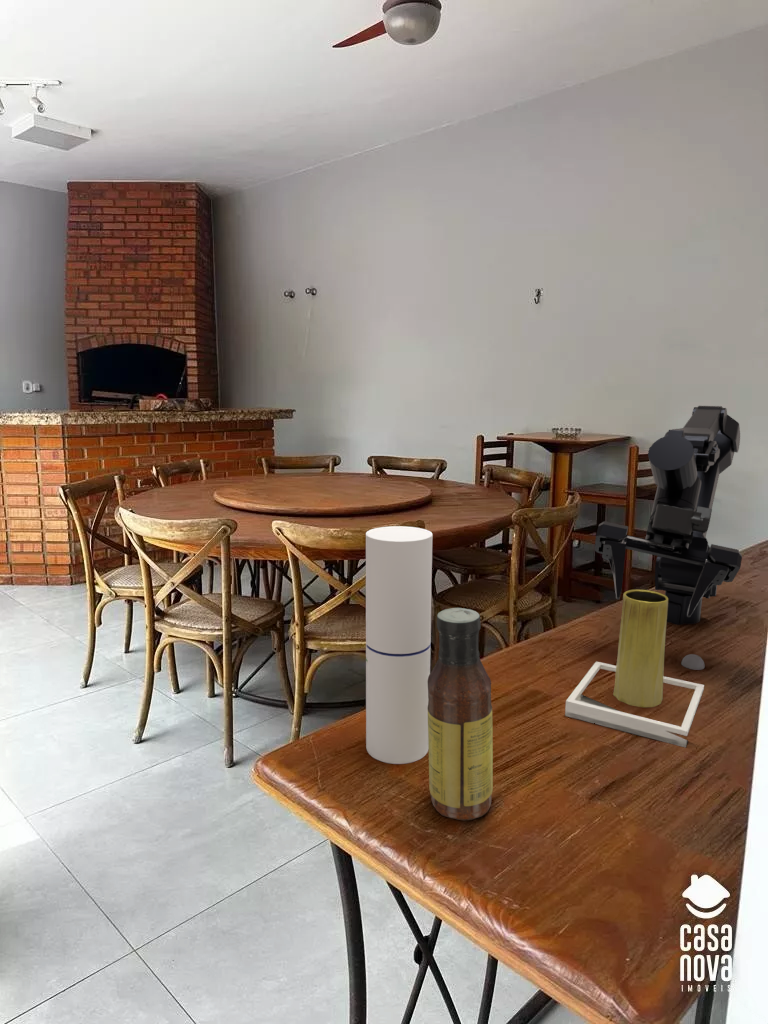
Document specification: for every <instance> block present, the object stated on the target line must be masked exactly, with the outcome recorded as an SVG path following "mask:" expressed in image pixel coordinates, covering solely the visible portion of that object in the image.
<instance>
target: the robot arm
mask: <svg viewBox="0 0 768 1024" xmlns="http://www.w3.org/2000/svg"><path fill="white" fill-rule="evenodd" d="M740 428H741V427H740V423H739V422H738V421H737V420H736V419H734V418H732V416H730V415H729V414H728V409H727V408H726V407H723V406H721V405H697V406H695V407H693V410H692V413H691V416H690V418H688V420H687V422H686V423H685V424H684V425H683V427H680V428H672V429H668V430H667V432H666V433H665V434H664V436H663V437H661V438H659V439H657V440H655V441H654V443H652V444H651V446H650V447H648V450H647V451H648V453H647V456H648V460H649V466H650V469H651V472H652V477H653V481H654V484H655V485H656V492H655V496H654V501H653V504H652V509H651V512H650V516H649V521H648V525H647V528H646V534H645V535H646V536H645V538H642V537H638V536H634V535H633V536H632V535H628V529H629V526H627V525H623V524H618V523H614V522H609V521H602V522H601V523H599V524H598V527H597V531H596V535H595V541H594V551H595V552H596V553H597V554H601V557H602V559H603V560H606V561H608V562H609V566H610V569H611V572H612V576H613V582H614V583H613V584H614V591H615V599H616V600H620V597H621V594H622V589H623V580H624V569H625V558H626V557H625V556H626V550H629V551H630V550H631V551H634V552H640V553H644V554H649V555H653V556H655V557H656V556H657V557H656V560H655V565H654V566H655V567H654V569H655V570H654V590H656V591H663V592H664V591H665V592H664V595H665V596H667V597H668V611H667V623H670V624H672V625H677V626H678V625H694V624H695V625H696V624H697V623H700V622H701V616H702V614H701V613H702V603H703V598H705V599H708V600H709V599H710V598H711V597H712V598H713V597H716V596H717V589H718V586H721V585H722V584H723V582H725V583H732V582H733V581H734V579H735V578H736V576H737V574H738V573H739V571H740V569H741V565H742V560H743V555H742V553H741V552H740V550H739V549H736V548H732V547H727V546H722V545H718V544H713V543H711V544H710V545H709V541H708V539H707V538H706V537H707V532H708V530H709V527H710V522H711V518H712V517H711V516H712V512H713V507H714V506H713V505H714V500H715V496H716V491H717V486H718V484H719V483H718V482H719V477H720V474H722V473H723V472H724V471H725V470H726V469H728V468H729V467H730V466H732V464H733V460H734V454H735V453H739V450H740V444H741V430H740Z"/></svg>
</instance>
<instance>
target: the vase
mask: <svg viewBox="0 0 768 1024" xmlns="http://www.w3.org/2000/svg"><path fill="white" fill-rule="evenodd" d="M622 594H623V595H622V607H621V618H620V628H619V637H618V644H617V645H618V647H617V648H618V649H617V659H616V665H615V666H616V672H615V674H614V675H615V676H614V678H615V679H614V688H613V694H612V695H613V696H614V697H615V699H617V701H619V702H622V703H624V704H627V705H629V706H634V707H638V708H655V707H657V706H658V705H661V704H662V701H663V699H664V697H663V694H664V693H663V692H664V691H663V689H664V683H663V676H664V672H665V671H664V669H665V648H666V632H667V623H668V622H667V611H668V597H667V596H665V593H664V594H663V593H661V592H658V591H654V590H649V589H629V590H627V591H625V592H623V593H622Z"/></svg>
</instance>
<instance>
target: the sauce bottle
mask: <svg viewBox="0 0 768 1024" xmlns="http://www.w3.org/2000/svg"><path fill="white" fill-rule="evenodd" d="M481 627H482V626H481V616H480V613H479V612H477V611H476V610H473V609H471V608H464V607H463V608H462V607H452V608H445V609H443V610H441V611H439V612H438V613H437V614H436V628H437V631H438V640H439V641H438V642H439V643H438V647H439V650H438V659H437V661H436V663H435V665H434V666H433V668H432V670H430V675H429V677H428V745H429V749H428V784H429V787H428V788H429V789H428V790H429V792H430V799H431V803H432V805H433V807H434V809H435V810H436V812H438V813H439V814H440V815H442V816H443V817H446V818H450V819H454V820H459V821H472V820H475V819H478V818H481V817H483V816H484V815H486V814H487V813H488V811H490V807H491V804H492V794H493V791H494V789H493V788H494V787H493V785H494V781H493V780H494V777H493V776H494V775H493V772H494V771H493V769H494V768H493V767H494V766H493V760H494V759H493V758H494V757H493V752H494V751H493V750H494V749H493V742H494V741H493V738H494V737H493V734H494V733H493V728H494V727H493V706H492V680H491V677H489V675H488V673H487V671H486V669H485V666H484V664H483V662H482V661H481V658H480V651H479V638H480V637H479V635H480V634H479V633H480V630H481Z"/></svg>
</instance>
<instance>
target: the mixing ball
mask: <svg viewBox="0 0 768 1024" xmlns="http://www.w3.org/2000/svg"><path fill="white" fill-rule="evenodd" d="M680 664H681V666H682V667H684V668H686V669H689V670H695V671H696V670H697V671H702V670H704V669H705V662H704V659H703V658H702V657H701V656H700V655H697V654H694V653H691V654H690V653H689V654H687V655H684V657H683V658H682V660H681V663H680Z"/></svg>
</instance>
